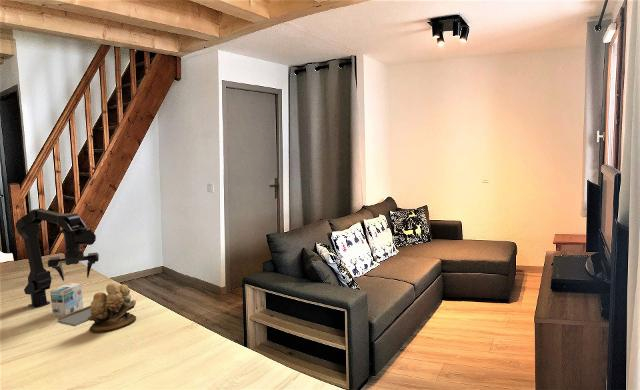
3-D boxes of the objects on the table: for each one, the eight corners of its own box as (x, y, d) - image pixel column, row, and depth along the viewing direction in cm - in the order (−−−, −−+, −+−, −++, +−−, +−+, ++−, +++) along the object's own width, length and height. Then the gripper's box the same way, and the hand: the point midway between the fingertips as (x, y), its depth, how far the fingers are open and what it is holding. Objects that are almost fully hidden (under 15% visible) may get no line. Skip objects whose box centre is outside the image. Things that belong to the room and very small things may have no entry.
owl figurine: (131, 314, 185) (127, 274, 182) (143, 321, 176) (140, 279, 174) (84, 328, 172) (80, 285, 170) (95, 337, 164) (91, 292, 162)
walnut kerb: (58, 320, 181) (57, 317, 181) (93, 306, 195) (93, 304, 195) (59, 320, 181) (59, 318, 181) (95, 306, 195) (95, 304, 195)
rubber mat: (58, 321, 180) (57, 320, 180) (98, 306, 195) (98, 305, 195) (75, 325, 174) (75, 324, 174) (115, 309, 190) (114, 308, 190)
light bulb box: (66, 316, 185) (63, 291, 184) (52, 316, 186) (49, 291, 185) (84, 307, 195) (81, 283, 194) (71, 306, 197) (68, 282, 195)
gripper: (43, 250, 178) (47, 288, 180) (95, 245, 185) (99, 281, 187) (48, 244, 188) (51, 280, 190) (97, 239, 195) (100, 274, 197)
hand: (75, 279), depth 191 cm, fingers open, 9 cm apart
